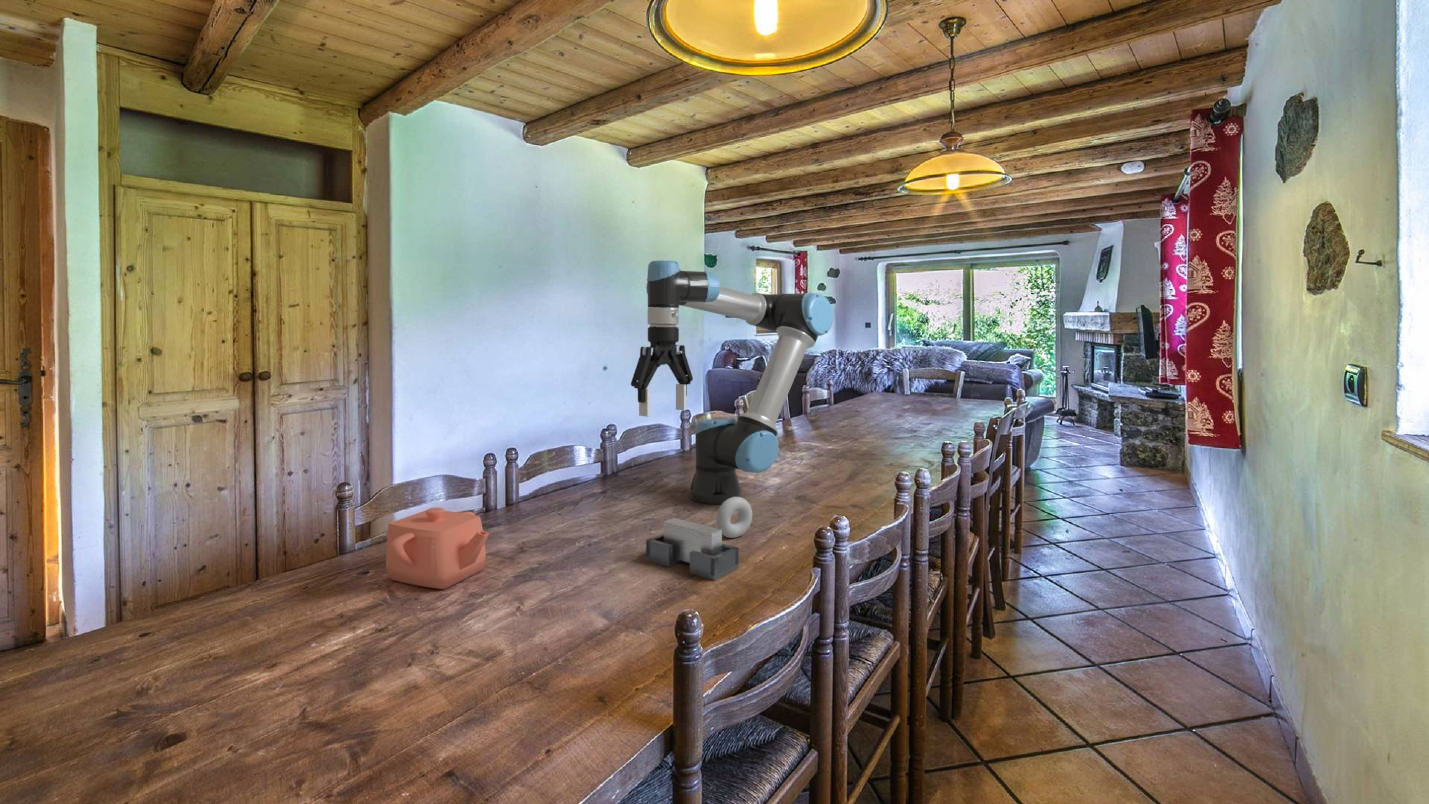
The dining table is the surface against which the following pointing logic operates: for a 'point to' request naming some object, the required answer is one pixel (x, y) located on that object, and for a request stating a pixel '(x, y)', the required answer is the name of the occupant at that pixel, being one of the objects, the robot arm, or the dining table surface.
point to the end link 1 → (660, 551)
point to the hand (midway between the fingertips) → (663, 413)
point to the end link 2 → (714, 563)
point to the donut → (725, 515)
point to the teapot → (435, 548)
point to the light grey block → (691, 538)
